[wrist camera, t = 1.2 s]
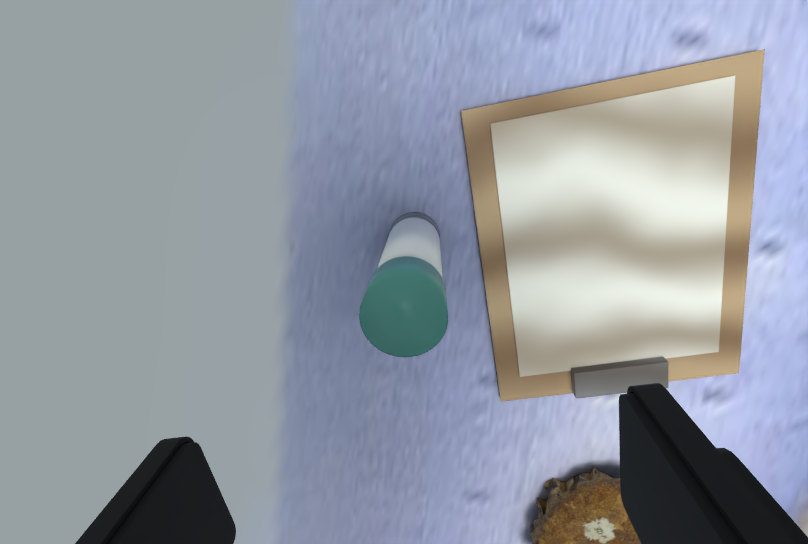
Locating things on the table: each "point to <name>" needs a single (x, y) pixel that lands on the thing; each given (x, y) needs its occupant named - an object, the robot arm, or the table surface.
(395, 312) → the marker
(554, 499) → the decorative rock
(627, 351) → the clipboard
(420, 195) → the table surface
